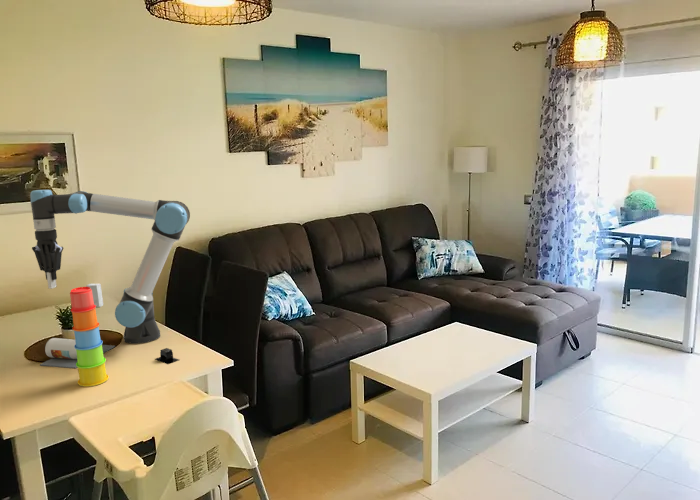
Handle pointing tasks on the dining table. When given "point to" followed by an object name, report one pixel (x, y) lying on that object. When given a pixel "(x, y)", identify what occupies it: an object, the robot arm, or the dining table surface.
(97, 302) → the skincare box
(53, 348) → the milk bottle
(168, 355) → the black block on base
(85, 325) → the stacking cups
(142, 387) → the dining table surface
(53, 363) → the slate mat
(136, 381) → the dining table surface
